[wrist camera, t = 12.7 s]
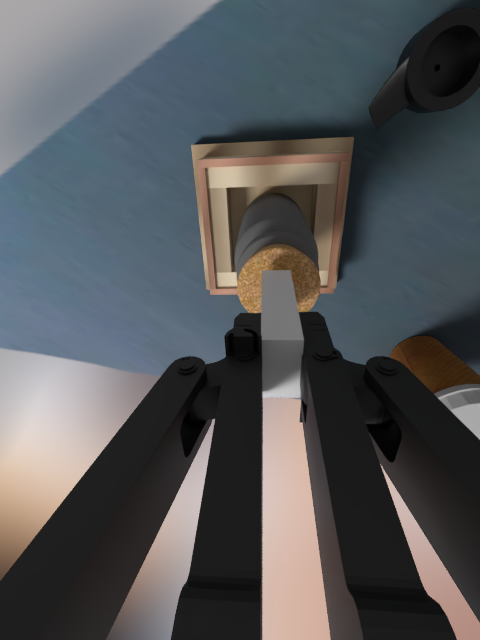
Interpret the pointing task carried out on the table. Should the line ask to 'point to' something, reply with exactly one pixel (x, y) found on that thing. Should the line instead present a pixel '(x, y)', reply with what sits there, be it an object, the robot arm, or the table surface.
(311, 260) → the bottle
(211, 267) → the holder block
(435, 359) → the disposable coffee cup
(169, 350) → the table surface
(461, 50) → the dark winged oval cup
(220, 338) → the table surface
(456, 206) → the table surface
